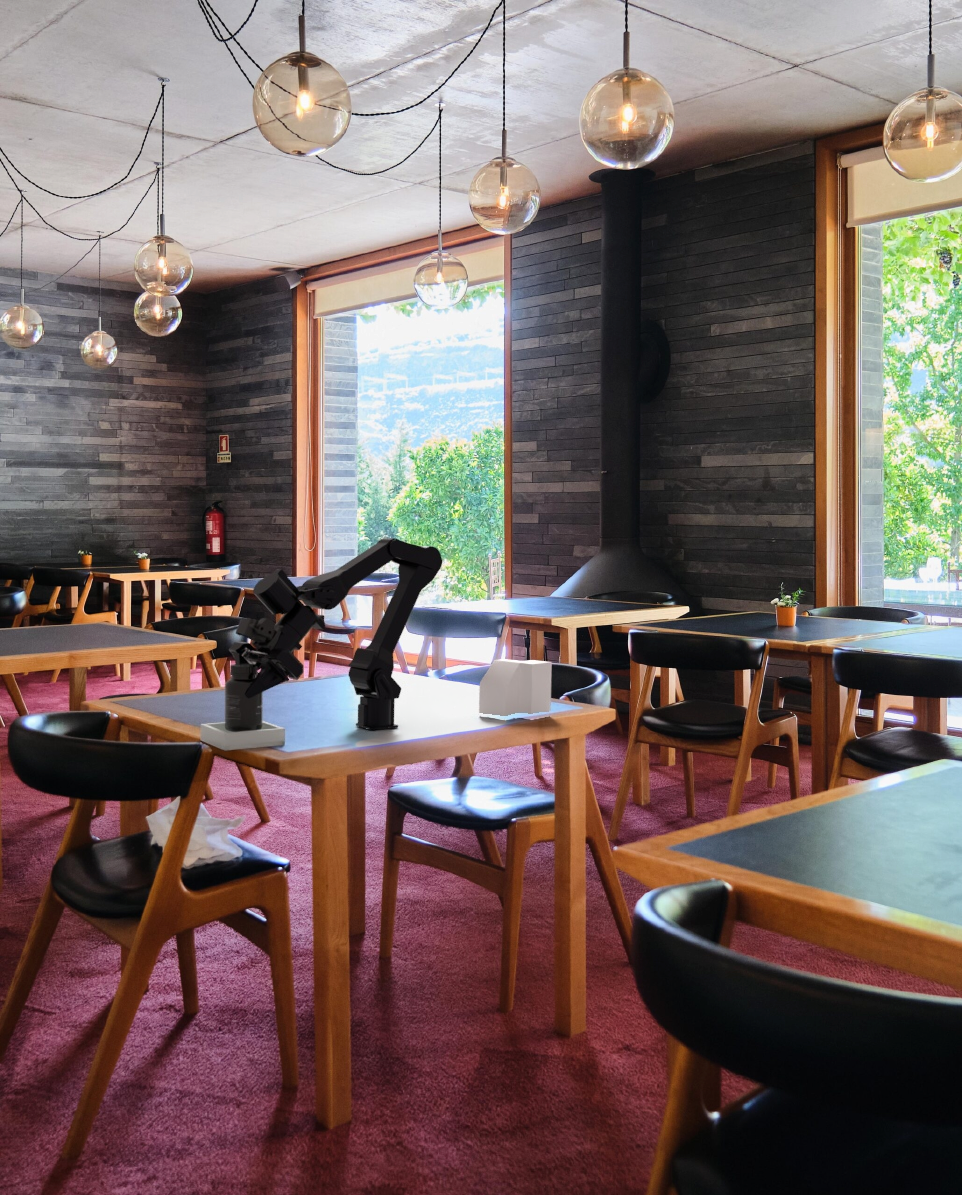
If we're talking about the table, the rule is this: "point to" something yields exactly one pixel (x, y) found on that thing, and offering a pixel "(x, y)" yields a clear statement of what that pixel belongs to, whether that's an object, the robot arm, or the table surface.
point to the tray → (242, 736)
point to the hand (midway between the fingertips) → (237, 694)
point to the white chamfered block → (516, 687)
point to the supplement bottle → (242, 700)
